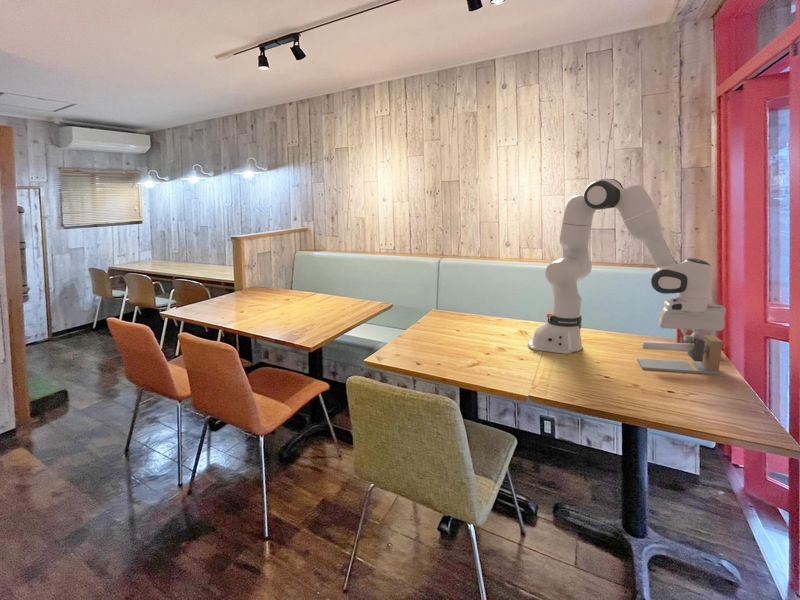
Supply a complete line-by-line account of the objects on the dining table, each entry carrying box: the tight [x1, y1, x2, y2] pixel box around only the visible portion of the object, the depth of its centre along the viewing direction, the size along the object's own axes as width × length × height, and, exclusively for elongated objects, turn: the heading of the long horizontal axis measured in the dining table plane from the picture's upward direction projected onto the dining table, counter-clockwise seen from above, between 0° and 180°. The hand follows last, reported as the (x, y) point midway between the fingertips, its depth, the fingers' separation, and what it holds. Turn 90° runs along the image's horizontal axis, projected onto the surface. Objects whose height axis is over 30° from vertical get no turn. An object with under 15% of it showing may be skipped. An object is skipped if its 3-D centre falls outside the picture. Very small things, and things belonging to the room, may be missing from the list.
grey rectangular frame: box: [687, 334, 705, 363], centre depth 163 cm, size 2×8×8 cm, turn 164°
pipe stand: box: [636, 334, 724, 376], centre depth 165 cm, size 25×9×12 cm, turn 73°
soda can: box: [674, 329, 693, 343], centre depth 185 cm, size 7×7×13 cm
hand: (688, 340), depth 163 cm, fingers closed
